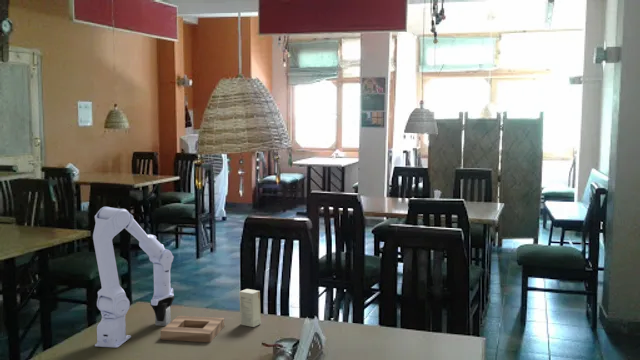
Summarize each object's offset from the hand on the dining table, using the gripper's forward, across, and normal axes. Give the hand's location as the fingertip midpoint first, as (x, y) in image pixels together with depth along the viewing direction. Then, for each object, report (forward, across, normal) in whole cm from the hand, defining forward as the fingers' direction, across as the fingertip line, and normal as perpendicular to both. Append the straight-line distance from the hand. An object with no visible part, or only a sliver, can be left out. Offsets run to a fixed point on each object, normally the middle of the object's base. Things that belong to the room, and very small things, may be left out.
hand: (163, 318), depth 202 cm
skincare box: (+2, +4, -31) cm, 31 cm away
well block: (+2, -7, -14) cm, 16 cm away
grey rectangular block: (+2, 0, 0) cm, 2 cm away
